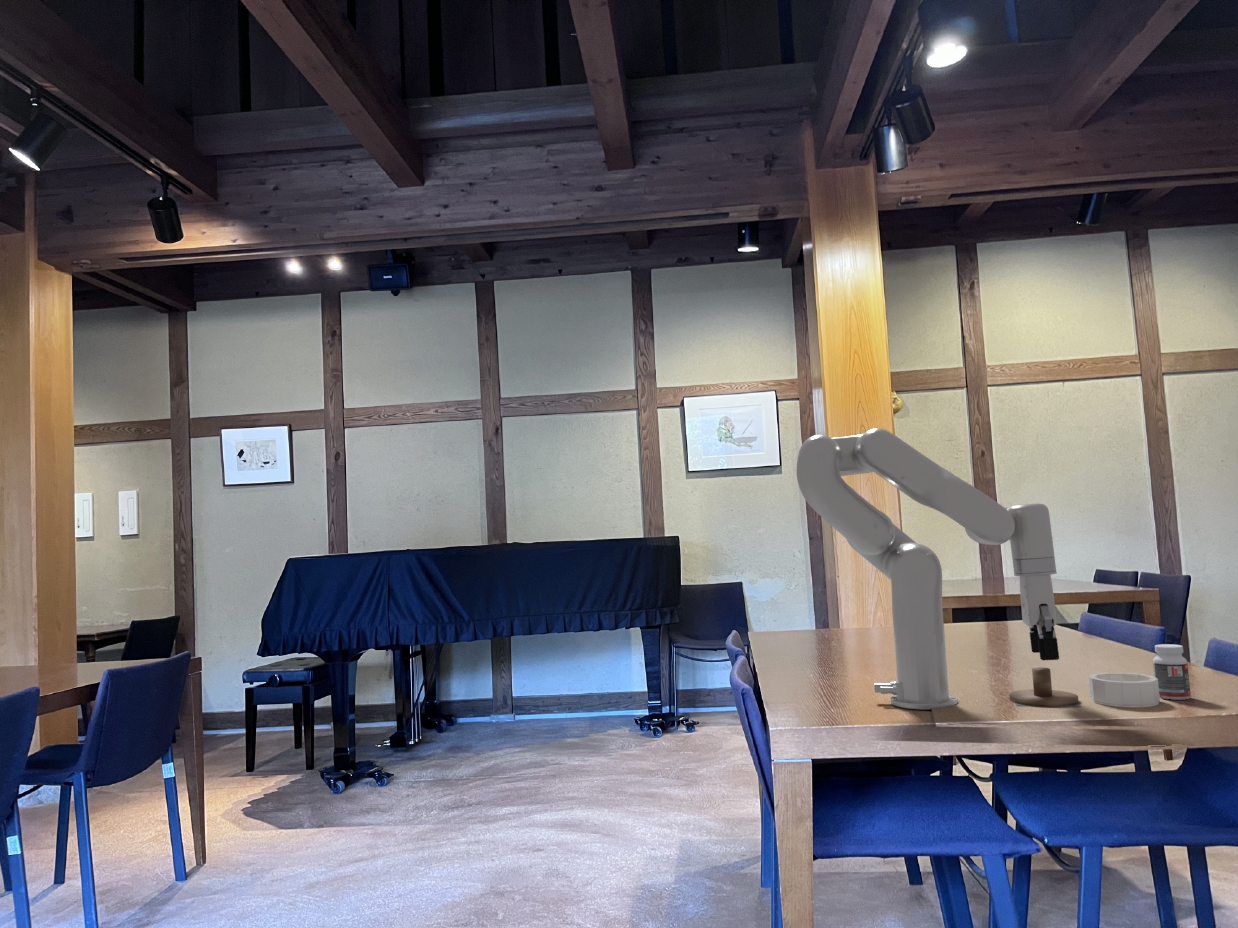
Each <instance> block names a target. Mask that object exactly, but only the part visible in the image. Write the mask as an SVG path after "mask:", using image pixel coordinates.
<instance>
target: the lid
mask: <svg viewBox="0 0 1238 928" xmlns="http://www.w3.org/2000/svg"><path fill="white" fill-rule="evenodd" d="M1031 672H1032V674H1031V675H1032V687H1033V689H1021V690H1014V691H1011V692H1010V693H1008V696H1009V701H1010V702H1012V703H1014V704H1015V703H1018V704H1023V705H1031V706H1030V707H1043V708H1044V707H1048V708H1049V707H1050V708H1051V707H1054V708H1057V707H1060V706H1069V705H1074V704H1077V703H1078V704H1079V695H1077V694H1076V693H1074V692H1069V691H1064V690H1056V689H1053V687H1052V674H1051V673H1052V672H1051V669H1050V668H1048V667H1032V668H1031ZM1060 708H1061V707H1060Z"/></svg>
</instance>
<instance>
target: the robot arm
mask: <svg viewBox="0 0 1238 928" xmlns="http://www.w3.org/2000/svg"><path fill="white" fill-rule="evenodd" d="M870 473H874V474H876V475H877V476H879V477H880V478H881V479H883V480H884V481H886V482H887V483H889V484H890V485H892V486H893V487H894V488H896V490H899V491H900V492H901V493H903V494H904V495H906V496H908V498H910V499H911V500H913V501H915V502H916V503H918V504H920V505H922V506H925V507H927V508H930V509H933V510H935V511H937V512H939V513H941V514H943V515H944V516H947V517H948V518H950V519H952V520H953V521H954V522H956V523H958V524H959V525H960V526H961V527H963V528H964V531H965V533H966V535H967V536H968V537H969V539H971V540H972V541H974V542H975V543H978V544H981V545H991V546H998V545H1003V544H1005V543H1007V542H1008V541H1009V542H1010V549H1011V557H1012V565H1013V567H1012V568H1013V573H1014V576H1015V577H1019V593H1020V606H1021V619H1022V623H1023V624H1024V625H1026V626H1027V627H1029V639H1030V649H1031V652H1032V653H1033V654H1035V653H1037V654H1038V653H1039V659H1040V660H1041V661H1058V660H1060V654H1059V653H1060V652H1059V645H1058V638H1057V633H1056V630H1055V626H1057V611H1056V604H1055V596H1054V595H1055V594H1054V590H1053V586H1054V585H1053V581H1052V576H1053V575H1056V574H1057V565H1056V557H1055V550H1054V549H1055V548H1054V542H1053V541H1054V540H1053V535H1052V534H1053V533H1052V525H1051V517H1050V510H1049V508H1048V507H1047V505H1046V504H1044V503H1026V504H1015V505H1012V506H1009V507H1008V506H1007V507H1004V505H1002V504H1000V503H999V502H997V501H996V500H994V499H993V498H992V497H990V496H989V495H987V494H985V493H984V492H983V491H981V490H980V489H978V488H976V487H974V485H971V484H969V482H967V481H965V480H963V479H962V478H960V477H958V476H957V475H955V474H954V473H952V472H951V471H949V470H948V469H946V468H945V467H942V466H941V465H939V464H938V463H936V462H935V461H933V460H932V459H931V458H929V457H927V456H926V455H924V454H923V453H921V452H920V451H918V450H917V449H916V448H914V447H913V446H911V445H910V444H908V443H907V442H905V441H904V440H903V439H901V438H900V437H898V436H897V435H895V434H894V433H892V432H890V431H888V430H886V429H884V428H880V427H879V428H877V427H876V428H871V429H869V430H866V431H864V433H861V434H857V435H854V434H853V435H848V436H841V437H830V436H828V435H825V434H815V435H812V436H810V437H809V438H807V439H805V440H804V441H803V443H802V444H801V446H800V448H799V452H798V456H797V461H796V480H797V485H798V488H799V490H800V493H801V494H802V496H803V498H804V500H805V501H806V503H807V504H808V505H809V506H810V508H811V509H813V511H815V512H816V514H817V515H818V516H820V517H821V518H822V519H823V520H824V521H825V522H827V523H828V524H829V525H830V527H832V528H833V529H834V530H836V531H837V532H838V533H839V534H840V535H841V536H842V537H844V539H846V542H847V543H848V544H849V546H850V547H851V548H852V549H853V550H854V551H855V552H857V553H858V554H859V555H860V556H861V557H863V558H864V559H865V560H866V561H867V562H869V564H871V565H872V566H873V567H874V568H876V569H877V570H878V571H879V572H880V573H882V574H883V575H884V576H885V577H886V578H887V579H889V580H890V582H891V609H892V624H893V637H894V652H895V667H896V678H895V681H890V683H883V682H879V683H878V682H874V683H873V685H874V687H873V688H874V693H876V694H880V695H885V694H891V695H892V696H891V697H890V704H891V705H893V706H895V707H898V708H902V709H909V710H922V711H923V710H925V711H926V710H927V711H929V710H931V711H932V709H937V708H938V709H939V708H947V707H948V708H949V707H952V706H956V705H957V704H958V703H959V699H958V698H957V696H955V695H951V694H950V691H949V690H950V689H949V678H948V664H947V650H946V637H945V623H944V612H943V571H942V565H941V561H940V560H939V557H938V556H937V554H936V553H935V552H934V551H933V550H932V549H931V548H930V547H928V546H926V545H924V544H921V543H917V542H916V541H915V540H913V539H912V537H910V536H909V535H907V534H906V532H904V531H902V529H900V528H899V527H898V526H896V524H894V523H893V521H892V519H891V518H890V517H889V515H887V514H886V513H885V512H884V511H881V510H879V509H878V508H876V507H875V505H873V504H872V503H870V502H869V501H868V500H866V499H865V498H864V497H863V496H861V495H860V494H859V493H858V492H857V491H856V490H855V488H852V486H850V485H849V484H848V483H847V482H846V481H845V480H844V479H843V478H842V477H846V476H856V475H863V474H870Z"/></svg>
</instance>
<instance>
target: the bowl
mask: <svg viewBox="0 0 1238 928" xmlns="http://www.w3.org/2000/svg"><path fill="white" fill-rule="evenodd" d="M1088 682H1089V683H1088V684H1089V695H1090V696H1089V697H1090V698H1091V701H1092V702H1093V703H1095V704H1099V705H1102V706H1110V707H1119V708H1151V707H1155V706H1157V705H1159V704H1160V701H1161V698H1160V696H1159V685H1158V679H1157V678H1156V677H1154V675H1149V674H1143V673H1134V672H1099V673H1092V674H1090V675H1088Z"/></svg>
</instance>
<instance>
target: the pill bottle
mask: <svg viewBox="0 0 1238 928" xmlns="http://www.w3.org/2000/svg"><path fill="white" fill-rule="evenodd" d="M1154 651H1155V653H1156V656H1155V657H1154V658H1153V659H1152V665H1153V674H1154V675H1153V676H1154V677H1156V678H1157V679H1158V685H1159V696H1160V699H1162V700H1168V699H1171V701H1185V700H1186V699H1187V700H1189V699H1191V696H1192V695H1191V686H1190V685H1191V684H1190V675H1189V665H1188V660H1187V658H1185V657H1184V656H1183V653H1184V646H1183V645H1181V644H1169V643H1166V644H1164V643H1162V644H1155V645H1154Z"/></svg>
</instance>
